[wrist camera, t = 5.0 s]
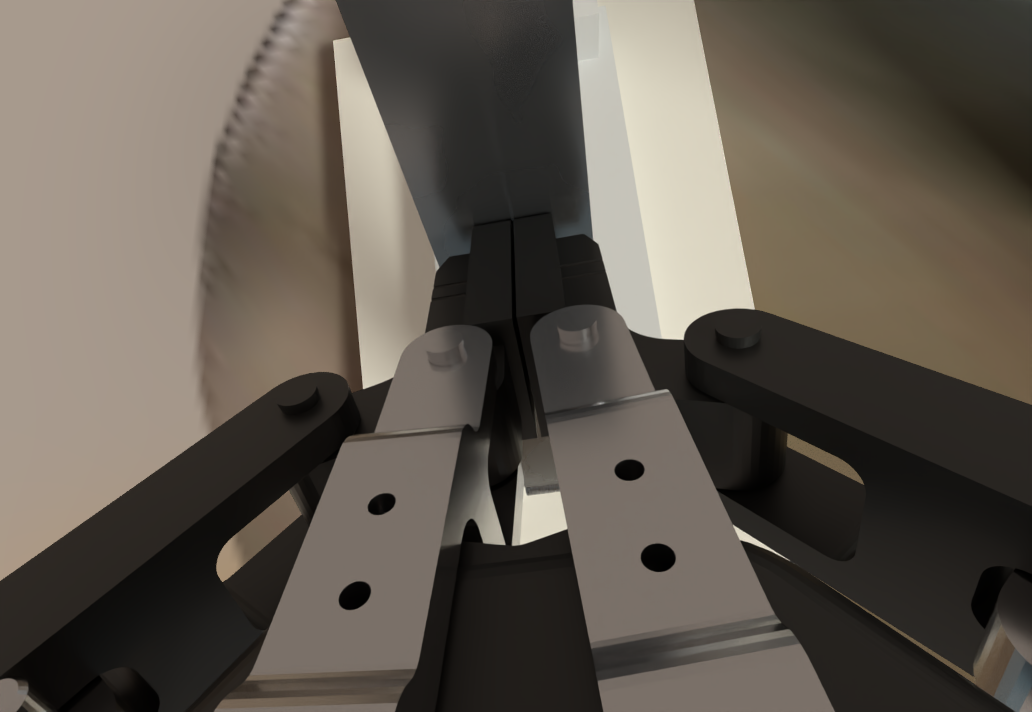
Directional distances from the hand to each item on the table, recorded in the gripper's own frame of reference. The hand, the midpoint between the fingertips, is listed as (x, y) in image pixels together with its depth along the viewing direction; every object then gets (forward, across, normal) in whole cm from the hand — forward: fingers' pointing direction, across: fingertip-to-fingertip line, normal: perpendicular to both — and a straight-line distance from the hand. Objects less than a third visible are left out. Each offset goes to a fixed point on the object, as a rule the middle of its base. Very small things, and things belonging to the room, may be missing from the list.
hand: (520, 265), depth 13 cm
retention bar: (+2, 0, +2) cm, 3 cm away
